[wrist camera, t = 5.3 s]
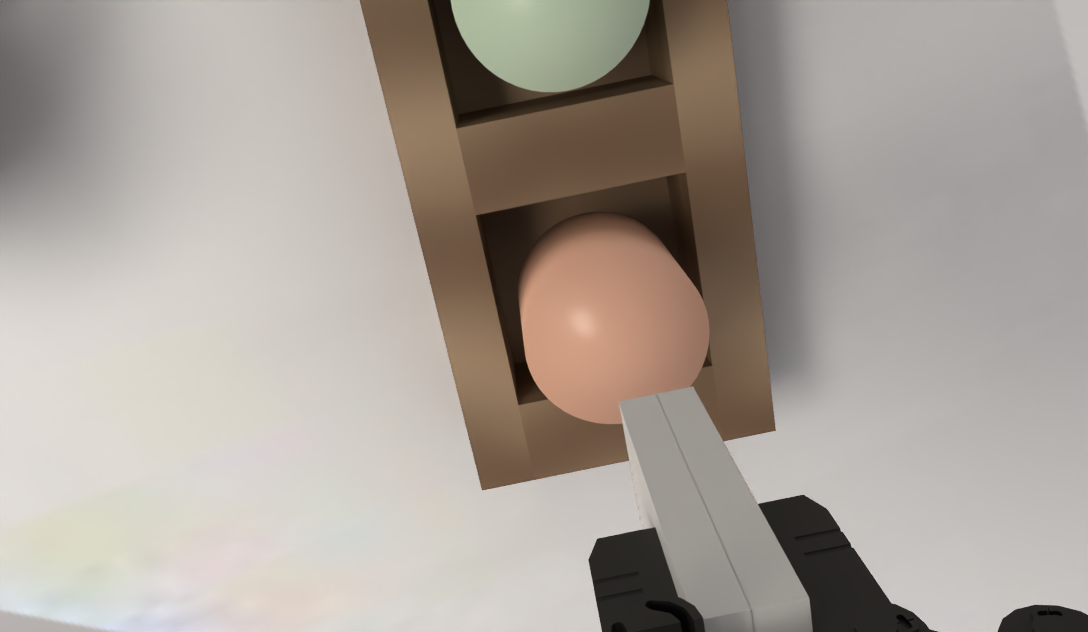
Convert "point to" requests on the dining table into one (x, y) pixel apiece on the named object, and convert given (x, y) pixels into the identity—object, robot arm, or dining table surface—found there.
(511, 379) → the wooden compartment tray
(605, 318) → the peach rounded piece
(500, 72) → the pale green rounded piece
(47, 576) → the dining table surface
